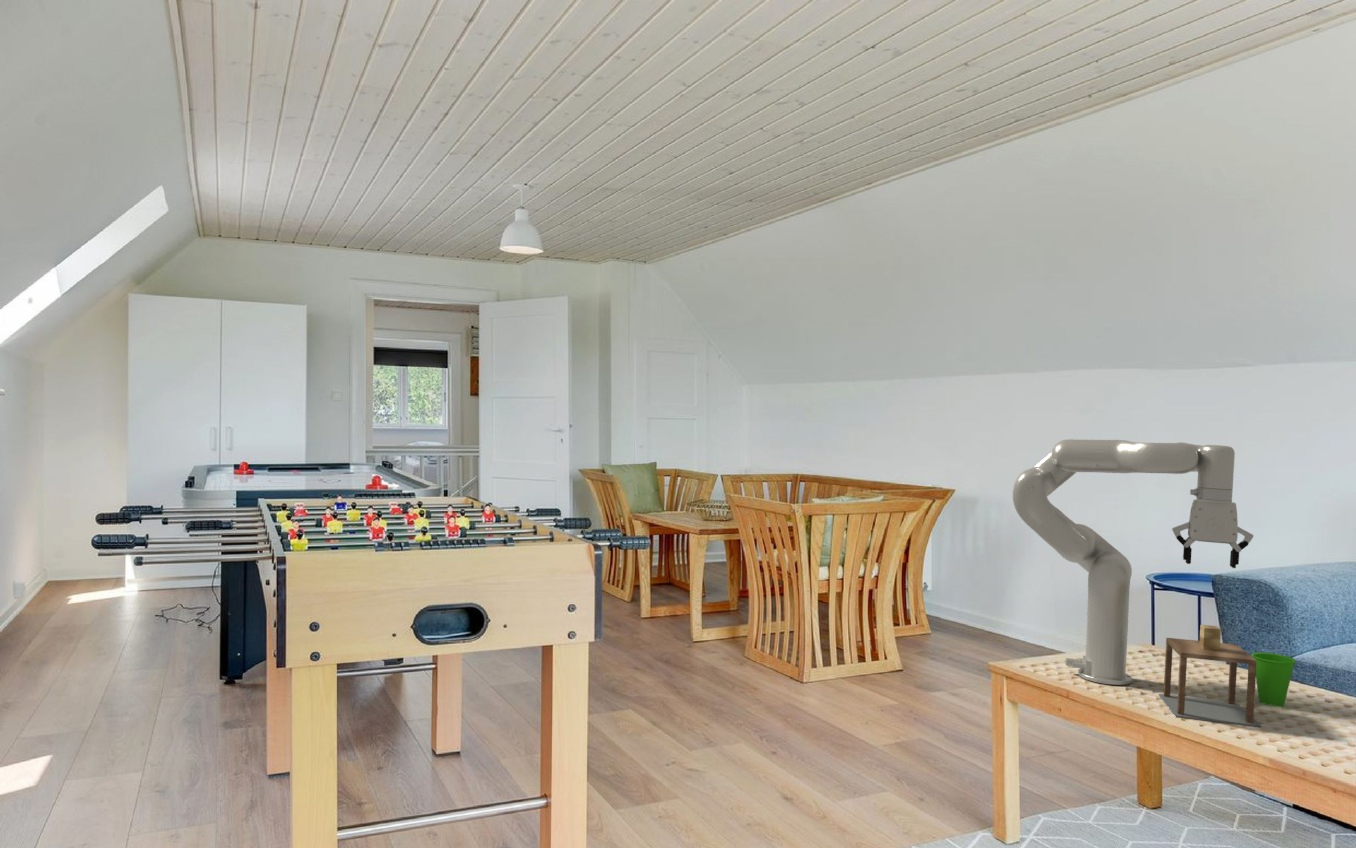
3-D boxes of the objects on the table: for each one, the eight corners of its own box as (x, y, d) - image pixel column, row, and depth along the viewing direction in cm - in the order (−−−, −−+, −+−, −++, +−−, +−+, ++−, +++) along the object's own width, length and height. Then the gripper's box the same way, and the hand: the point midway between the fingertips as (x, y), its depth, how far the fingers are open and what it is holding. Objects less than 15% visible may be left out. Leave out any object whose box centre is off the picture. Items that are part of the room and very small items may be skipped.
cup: (1301, 710, 217) (1303, 664, 216) (1258, 706, 218) (1260, 660, 218) (1284, 699, 225) (1286, 654, 225) (1243, 695, 227) (1245, 651, 227)
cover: (1178, 714, 209) (1182, 630, 209) (1163, 695, 223) (1167, 617, 223) (1253, 723, 205) (1257, 637, 204) (1233, 703, 219) (1237, 623, 219)
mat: (1175, 717, 208) (1175, 715, 208) (1158, 695, 224) (1158, 693, 224) (1260, 727, 203) (1261, 725, 203) (1237, 704, 220) (1237, 702, 220)
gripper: (1176, 494, 225) (1172, 563, 226) (1258, 499, 219) (1254, 571, 220) (1172, 491, 232) (1168, 559, 233) (1251, 497, 226) (1247, 566, 227)
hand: (1210, 565), depth 226 cm, fingers open, 9 cm apart
